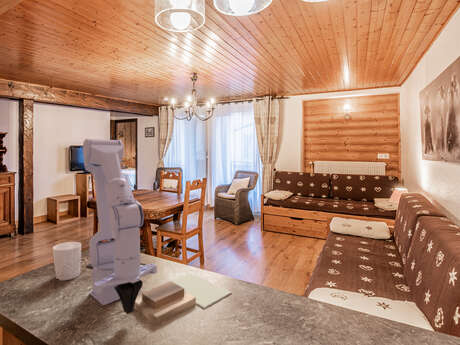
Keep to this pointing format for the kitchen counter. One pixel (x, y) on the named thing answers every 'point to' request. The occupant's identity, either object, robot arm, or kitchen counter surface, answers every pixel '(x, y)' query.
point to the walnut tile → (162, 295)
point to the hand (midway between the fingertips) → (128, 311)
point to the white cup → (67, 260)
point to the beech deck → (165, 308)
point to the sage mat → (201, 290)
